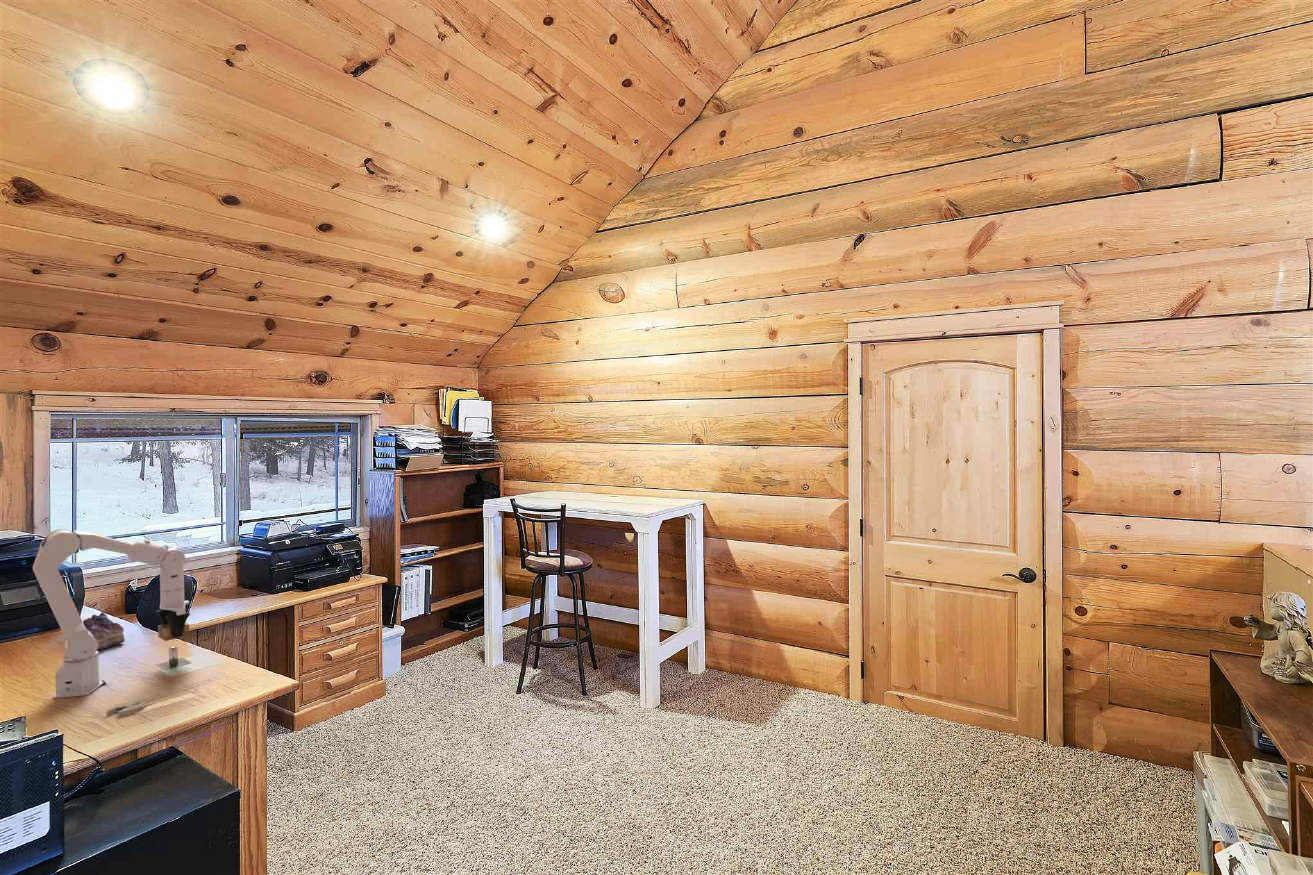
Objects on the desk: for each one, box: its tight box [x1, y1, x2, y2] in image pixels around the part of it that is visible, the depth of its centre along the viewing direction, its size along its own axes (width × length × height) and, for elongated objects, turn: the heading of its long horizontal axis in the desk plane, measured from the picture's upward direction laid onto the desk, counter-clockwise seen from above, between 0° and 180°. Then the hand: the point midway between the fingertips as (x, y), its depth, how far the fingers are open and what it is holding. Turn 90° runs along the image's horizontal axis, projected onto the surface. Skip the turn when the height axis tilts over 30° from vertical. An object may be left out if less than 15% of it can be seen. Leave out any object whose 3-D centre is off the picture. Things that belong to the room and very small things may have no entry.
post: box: [155, 645, 191, 670], centre depth 194 cm, size 7×7×5 cm
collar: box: [157, 622, 190, 642], centre depth 193 cm, size 6×6×3 cm
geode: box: [82, 611, 126, 651], centre depth 215 cm, size 20×12×10 cm, turn 52°
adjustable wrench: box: [106, 676, 220, 718], centre depth 172 cm, size 25×6×2 cm, turn 145°
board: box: [153, 654, 219, 678], centre depth 193 cm, size 14×12×1 cm
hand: (173, 634), depth 193 cm, fingers closed on collar, 6 cm apart
